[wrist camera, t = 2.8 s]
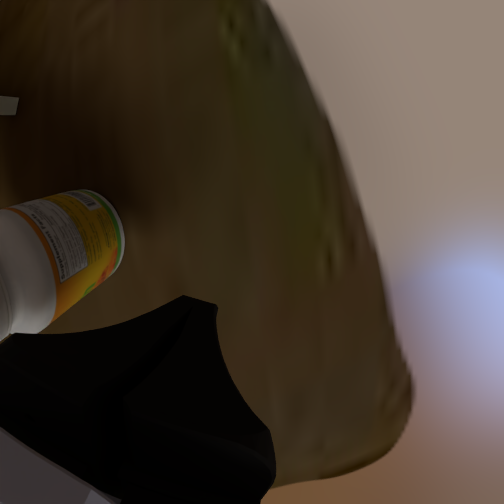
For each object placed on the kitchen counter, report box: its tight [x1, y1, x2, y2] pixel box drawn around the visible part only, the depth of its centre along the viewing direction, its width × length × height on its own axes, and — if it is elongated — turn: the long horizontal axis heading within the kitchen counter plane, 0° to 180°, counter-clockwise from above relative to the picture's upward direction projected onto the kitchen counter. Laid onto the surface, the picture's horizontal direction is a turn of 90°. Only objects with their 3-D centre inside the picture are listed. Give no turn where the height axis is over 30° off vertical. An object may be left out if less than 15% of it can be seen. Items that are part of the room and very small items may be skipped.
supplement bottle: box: [0, 190, 125, 341], centre depth 11 cm, size 5×5×10 cm
